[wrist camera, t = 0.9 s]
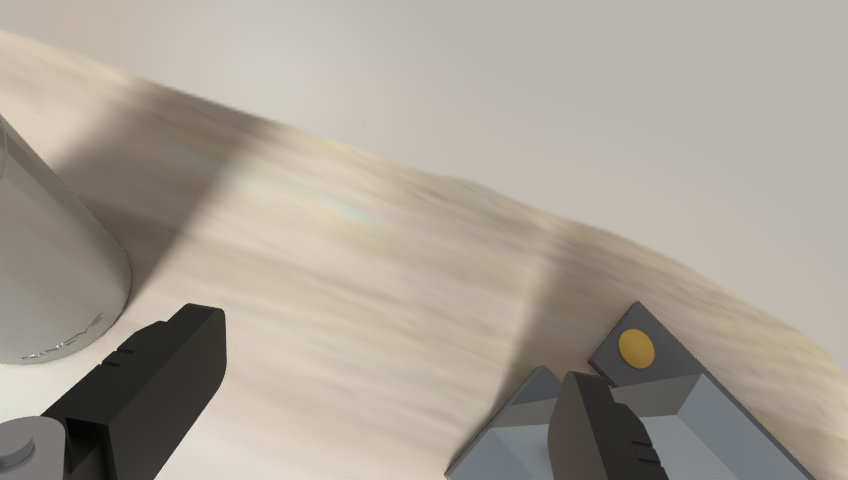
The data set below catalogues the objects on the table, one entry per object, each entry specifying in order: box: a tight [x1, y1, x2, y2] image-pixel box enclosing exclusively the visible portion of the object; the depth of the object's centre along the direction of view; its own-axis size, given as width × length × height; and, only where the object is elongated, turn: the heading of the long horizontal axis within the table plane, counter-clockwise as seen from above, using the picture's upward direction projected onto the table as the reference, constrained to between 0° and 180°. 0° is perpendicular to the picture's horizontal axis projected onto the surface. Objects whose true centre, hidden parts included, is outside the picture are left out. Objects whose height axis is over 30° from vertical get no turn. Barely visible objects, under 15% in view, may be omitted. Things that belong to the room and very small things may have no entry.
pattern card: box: [588, 302, 816, 480], centre depth 35 cm, size 22×7×1 cm, turn 44°
